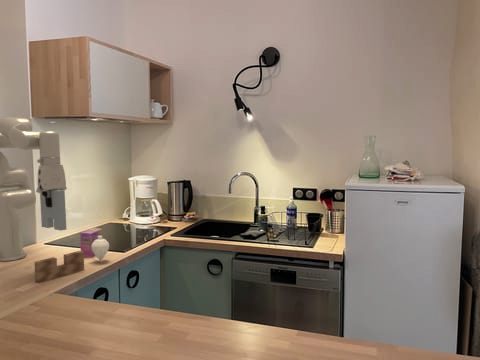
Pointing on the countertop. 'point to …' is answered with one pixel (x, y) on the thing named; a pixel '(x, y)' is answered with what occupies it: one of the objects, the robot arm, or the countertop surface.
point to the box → (89, 241)
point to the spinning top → (100, 247)
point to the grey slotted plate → (54, 210)
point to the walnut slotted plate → (50, 270)
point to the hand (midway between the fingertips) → (52, 206)
